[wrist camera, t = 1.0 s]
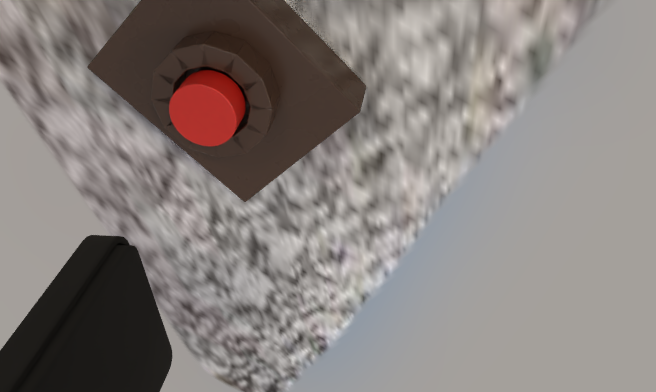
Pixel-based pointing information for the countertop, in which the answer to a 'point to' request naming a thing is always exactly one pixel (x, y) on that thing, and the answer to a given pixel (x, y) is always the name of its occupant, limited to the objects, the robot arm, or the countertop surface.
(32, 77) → the countertop surface
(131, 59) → the power button base
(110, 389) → the robot arm
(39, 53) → the countertop surface
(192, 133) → the power button
